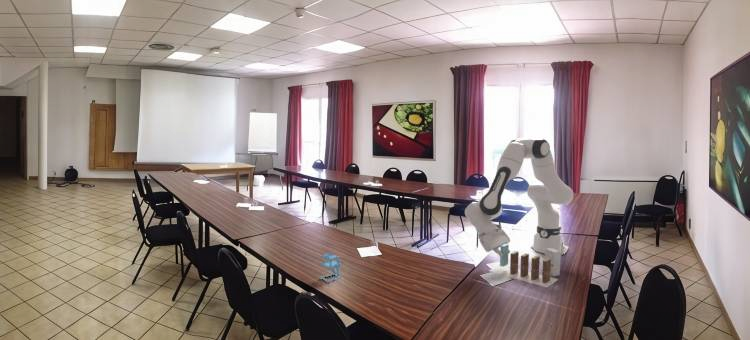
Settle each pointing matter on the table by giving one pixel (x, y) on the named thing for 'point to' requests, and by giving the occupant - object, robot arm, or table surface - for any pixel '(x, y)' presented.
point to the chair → (331, 265)
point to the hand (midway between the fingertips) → (505, 254)
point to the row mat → (538, 281)
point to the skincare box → (553, 260)
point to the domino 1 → (504, 258)
